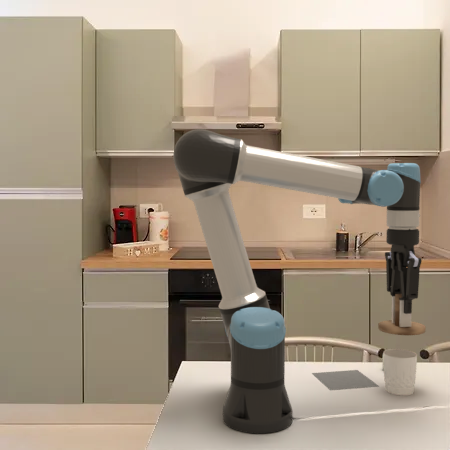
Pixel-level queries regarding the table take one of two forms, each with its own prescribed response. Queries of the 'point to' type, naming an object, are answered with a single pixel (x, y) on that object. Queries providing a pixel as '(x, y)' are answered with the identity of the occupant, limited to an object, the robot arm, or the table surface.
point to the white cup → (399, 371)
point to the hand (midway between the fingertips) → (401, 324)
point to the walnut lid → (394, 327)
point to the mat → (344, 380)
